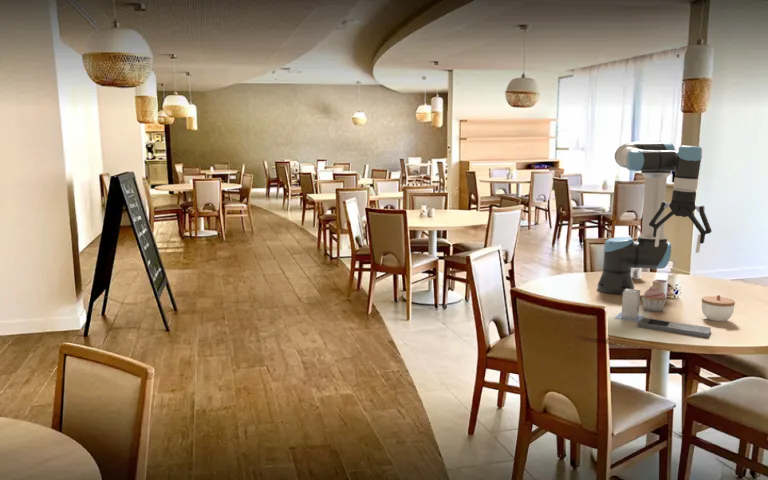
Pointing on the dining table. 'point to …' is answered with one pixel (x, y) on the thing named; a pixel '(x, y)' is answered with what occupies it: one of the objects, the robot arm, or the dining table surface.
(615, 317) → the mat
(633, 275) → the cup with straw
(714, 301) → the lidded jar
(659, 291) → the cupcake
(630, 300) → the nut block
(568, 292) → the dining table surface
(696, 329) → the rail
